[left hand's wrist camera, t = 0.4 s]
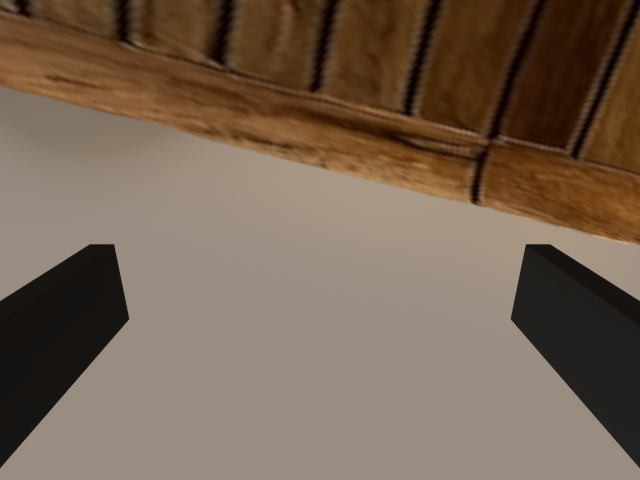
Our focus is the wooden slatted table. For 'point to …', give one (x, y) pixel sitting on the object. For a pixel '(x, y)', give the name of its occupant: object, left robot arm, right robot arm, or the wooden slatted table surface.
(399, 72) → the wooden slatted table surface
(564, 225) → the wooden slatted table surface
